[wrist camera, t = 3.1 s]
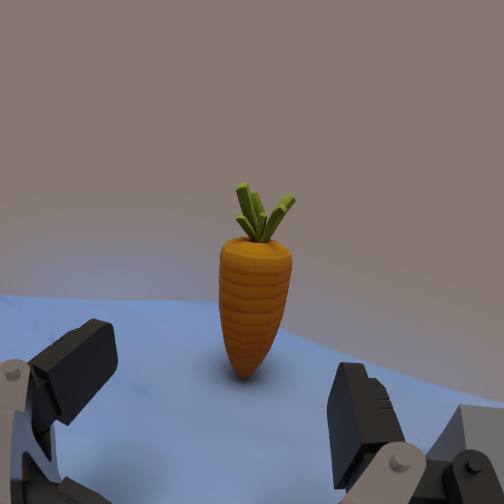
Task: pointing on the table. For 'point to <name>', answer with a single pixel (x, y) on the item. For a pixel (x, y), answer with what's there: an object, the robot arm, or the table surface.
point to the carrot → (253, 283)
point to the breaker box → (473, 436)
